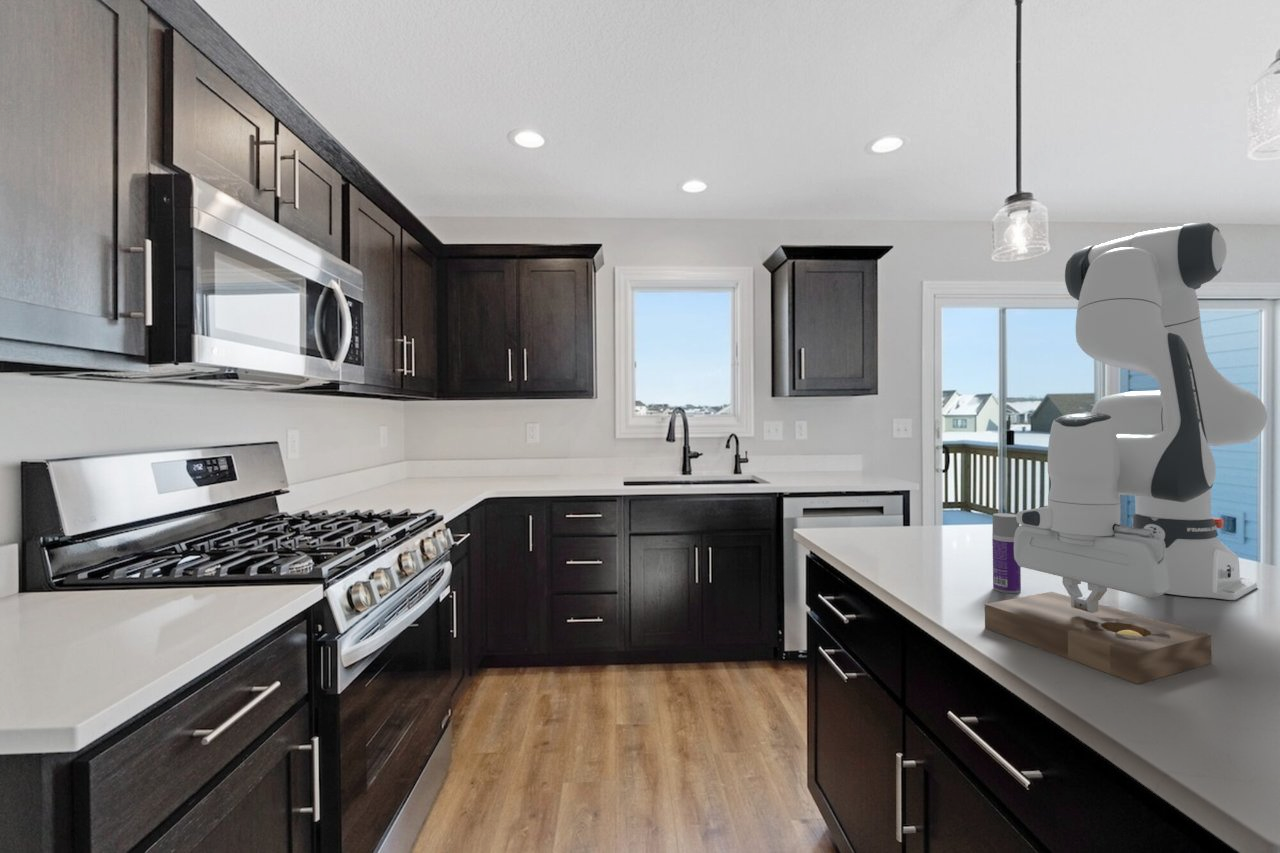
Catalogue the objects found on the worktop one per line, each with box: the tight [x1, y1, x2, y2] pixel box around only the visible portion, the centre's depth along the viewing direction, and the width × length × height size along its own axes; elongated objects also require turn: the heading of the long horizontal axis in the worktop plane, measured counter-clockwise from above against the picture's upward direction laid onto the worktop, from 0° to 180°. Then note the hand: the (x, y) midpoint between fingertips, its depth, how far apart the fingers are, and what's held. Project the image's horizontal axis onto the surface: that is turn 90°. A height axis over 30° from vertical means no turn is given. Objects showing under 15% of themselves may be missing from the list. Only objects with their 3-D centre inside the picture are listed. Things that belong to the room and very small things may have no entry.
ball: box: [1117, 630, 1142, 636], centre depth 83 cm, size 4×4×4 cm
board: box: [984, 591, 1213, 685], centre depth 89 cm, size 16×22×4 cm
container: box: [991, 512, 1022, 595], centre depth 116 cm, size 5×5×15 cm
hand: (1084, 609), depth 89 cm, fingers closed
